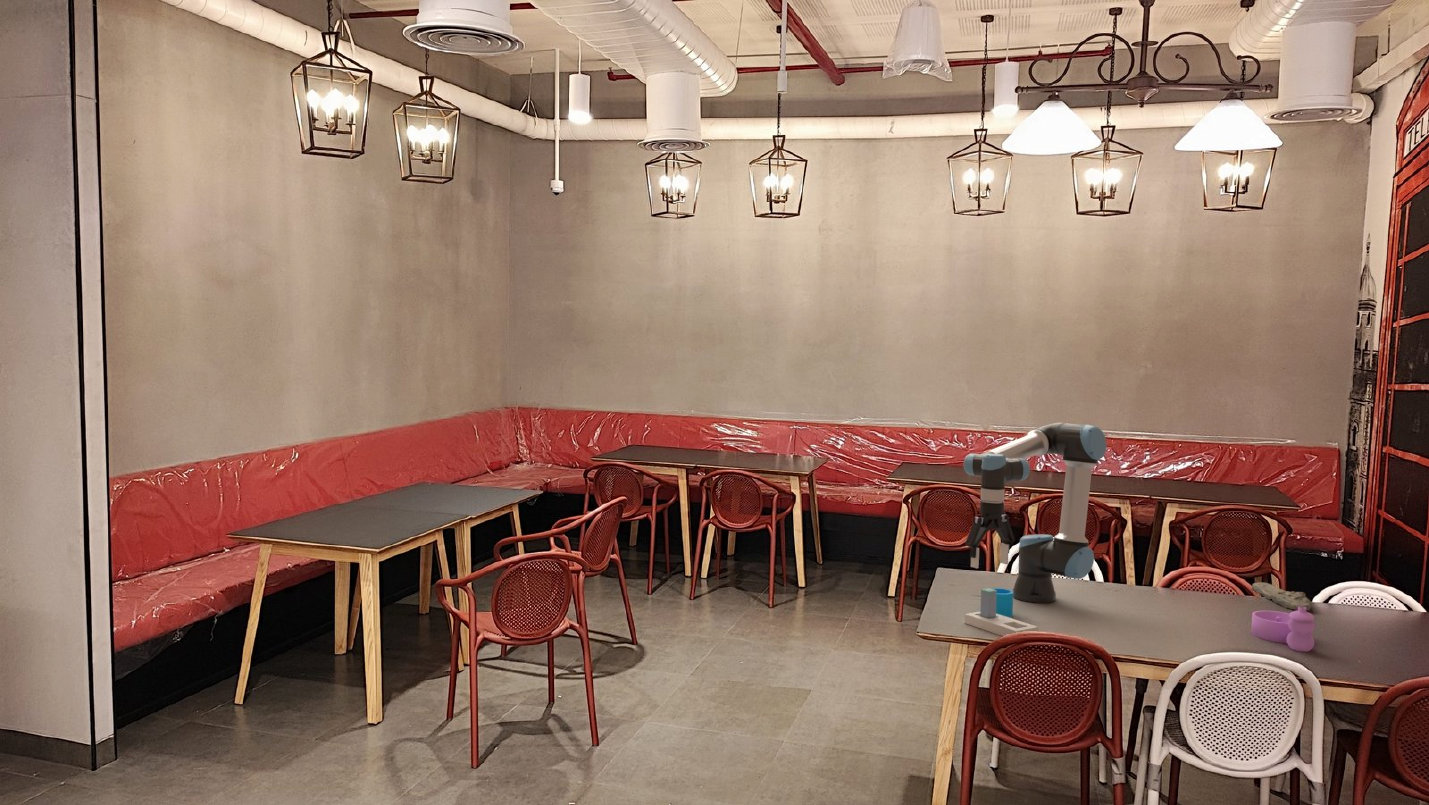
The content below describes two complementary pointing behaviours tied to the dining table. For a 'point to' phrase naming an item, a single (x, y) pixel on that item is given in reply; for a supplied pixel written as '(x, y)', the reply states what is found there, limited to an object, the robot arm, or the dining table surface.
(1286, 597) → the long grey stone
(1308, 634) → the container set
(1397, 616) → the dining table surface
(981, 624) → the port panel
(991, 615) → the plug
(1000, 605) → the mug
